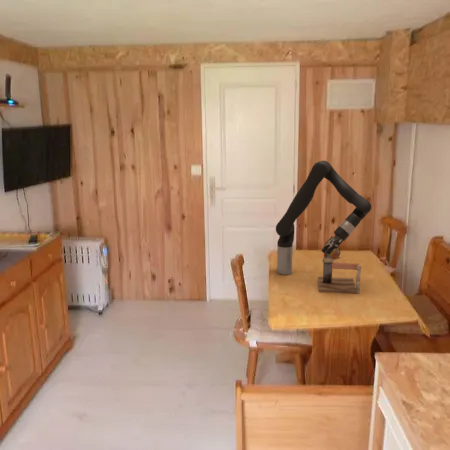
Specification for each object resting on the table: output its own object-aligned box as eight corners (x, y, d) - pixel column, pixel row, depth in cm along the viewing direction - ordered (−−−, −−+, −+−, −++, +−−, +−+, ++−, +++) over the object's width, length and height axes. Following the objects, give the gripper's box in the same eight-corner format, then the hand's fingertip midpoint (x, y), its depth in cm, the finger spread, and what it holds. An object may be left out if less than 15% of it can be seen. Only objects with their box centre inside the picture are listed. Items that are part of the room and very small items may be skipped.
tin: (326, 262, 303) (326, 250, 301) (322, 261, 305) (323, 249, 303) (340, 257, 312) (341, 245, 310) (336, 256, 314) (337, 244, 312)
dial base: (317, 279, 273) (318, 253, 269) (356, 280, 269) (357, 255, 266) (318, 291, 254) (319, 264, 250) (360, 293, 250) (361, 266, 246)
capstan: (321, 283, 262) (322, 261, 259) (321, 279, 268) (322, 257, 264) (358, 285, 258) (359, 263, 255) (357, 281, 264) (358, 259, 260)
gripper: (335, 225, 259) (316, 247, 258) (343, 226, 245) (323, 249, 244) (344, 234, 260) (326, 255, 259) (354, 235, 245) (334, 258, 245)
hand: (324, 252), depth 252 cm, fingers open, 8 cm apart
